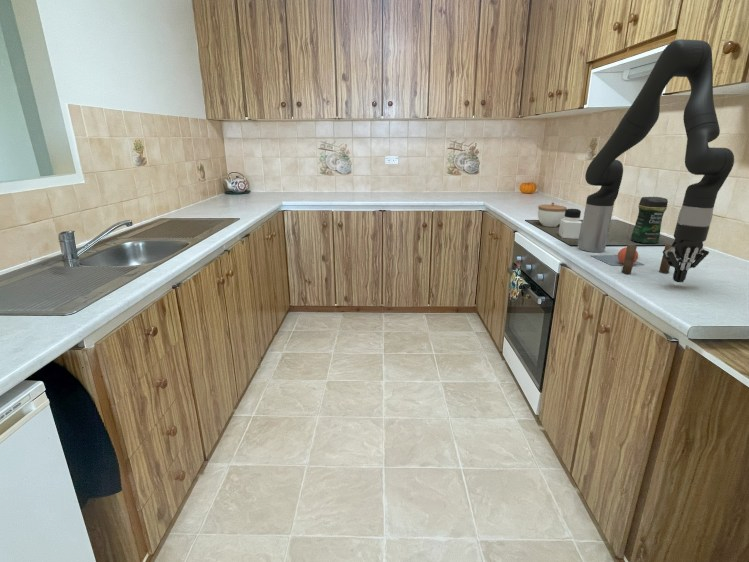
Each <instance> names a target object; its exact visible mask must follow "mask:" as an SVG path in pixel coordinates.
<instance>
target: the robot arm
mask: <svg viewBox="0 0 749 562" xmlns="http://www.w3.org/2000/svg"><path fill="white" fill-rule="evenodd" d="M713 65H714V64H713V52H712V47H711V45H710V44H709V43H708V41H705V40H700V39H685V38H683V39H675V40H673V41H671V42H670V43H669V44H667V46H665V48H664V49H663V50H662V52H661V53H660V56H658V58H657V60H656V62H655V64H654V66H653V68H652V69H651V71H650V73H649V75H648V77H647V79H646V81H645V82H644V85H643V87H642V88H641V90H640V91H639V93H638V94H637V96H636V98H635V99H634V101H633V102H632V104H631V105H630V107H629V108H628V110H627V111H626V112H625V114H624V115H623V117H622V118H621V120H620V122H619V124H618V125H617V126H616V128H615V130H614V131H613V133H612V134H611V136H610V137H609V139H608V140H607V142H606V143H605V144H604V146H602V148H601V149H599V152H598V153H597V154H596V155H595V157H594V158H593V159H592V160H591V161H590V163H589V165H588V166H587V169H586V171H585V182H586V184H588V185H591V186H596V187H598V186H599V187H600V188H599V189H598V190H597V191H596V192H594V193H592V194H590V195H588V196H587V197H586V200H585V201H586V202H585V208H584V213H583V220H582V221H581V222H582V223H581V228H580V234H579V239H577V240H578V241H577V248H578V249H579V250H582V251H584V252H585V251H586V252H593V253H602V252H605V251H606V246H607V241H608V237H609V231H610V227H611V226H610V225H611V222H612V221H611V220H612V217H613V211H614V205H615V201H616V199H617V198H618V195H619V191H620V188H621V185H622V180H623V175H624V166H623V163H622V162H621V161H620V160H618V159H617V158H619V157H620V156H621V155H623V154H624V153H625V152H627V151H629V150H630V149H631V148H633V147H635V146H637V144H639V143H641V142H642V141H643V140H644V139H645V138H646V137H647V136H648V134H649V133H650V132H651V130H652V128H653V127H654V126H655V125H656V123H657V121H658V119H659V117H660V108H661V96H662V93H663V92H664V90H665V89H666V87H667V85H668V84H669V83H670V81H671V80H672V79H673V78H674V77H675V78H676V77H677V78H678V77H680V78H687V80H688V82H689V85H690V86H689V87H690V95H689V98H688V100H687V102H686V105H685V106H684V110H683V115H682V116H683V120H682V121H683V125H684V129H685V136H686V138H687V139H686V146H685V157H684V166H685V168H686V170H687V171H688V172H689V173H690V174H691V175H695V176H702V178H701V179H700V181H699V182H696V183H692V184H690V185H688V186H687V188H686V190H685V193H684V198H683V200H682V206H681V208H680V210H679V212H678V217H677V221H676V225H675V228H674V232H673V238H674V241H673V242H672V247H671V248H670V249H668V250H664V249H663V250H662V255H663V254H664V256H665V258H666V260H667V262H668V264H669V266H670V267H672V268H674V270H673V275H672V280H673V281H674V282H676V283H684V281H685V280H686V278H687V274H688V271H690V269H692V268H693V269H695V268H696V267H697V266H698V265H700V263H701V262H702V261H703V260H704V259H705V258H706V257H707V256H708V255H710V254H709V253H710V251H708V250H705V248H704V244H703V243H704V242H706V240H707V238H708V234H709V230H710V226H711V222H712V219H713V215H714V209H715V208H714V207H715V204H716V200H717V198H718V197H717V196H718V193H719V191H720V190H721V188H722V187H723V185H724V183H725V182H726V180H727V178H728V177H729V175H730V173H731V172H732V169H733V167H734V164H735V155H734V153H733V151H732V150H731V149H730V148H727V147H710V146H709V143H710V142H713V141H715V140H716V139H717V138H718V137H719V136H720V133H721V132H720V131H721V130H720V129H721V127H720V123H719V120H718V116H717V113H716V107H715V103H714V102H715V101H714V87H713V86H714V83H713V82H714V75H713V69H714V68H713Z"/></svg>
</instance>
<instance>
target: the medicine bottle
mask: <svg viewBox="0 0 749 562" xmlns="http://www.w3.org/2000/svg"><path fill="white" fill-rule="evenodd" d="M581 213H582V211H581V210H580V209H578V208H567V209H566V210H565V216H564V219H561V221H560V224H559V229H558V235H559V237H561V238H562V239H571V240H573V239H575V240H579V234H580V228H581V223H582V222H583V221H581V220H580V218H581Z"/></svg>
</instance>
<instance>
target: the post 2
mask: <svg viewBox="0 0 749 562" xmlns="http://www.w3.org/2000/svg"><path fill="white" fill-rule="evenodd" d="M672 244H673V243H672ZM672 244H671V243H666V244H665V246H664V249H663V250H668V249H670V248H671V247H672ZM670 269H671V266H669V264H668V262H667V260H666V258H665V256H664V254H663V253H662V258H661V262H660V266H659V270H658V272H659V273H662V274H669V272H670Z"/></svg>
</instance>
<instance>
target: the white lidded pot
mask: <svg viewBox="0 0 749 562" xmlns="http://www.w3.org/2000/svg"><path fill="white" fill-rule="evenodd" d="M566 209H568V208H567V207H566V206H564V205H560V204H559V205H558V204H555V202H554V201H553V202H551V204H539V205H538V210H537V218H538V222H540V224H541V226H543V227H549V228H556V227H558V226H560V221H561V219H565V218H564V216H565V210H566Z"/></svg>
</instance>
